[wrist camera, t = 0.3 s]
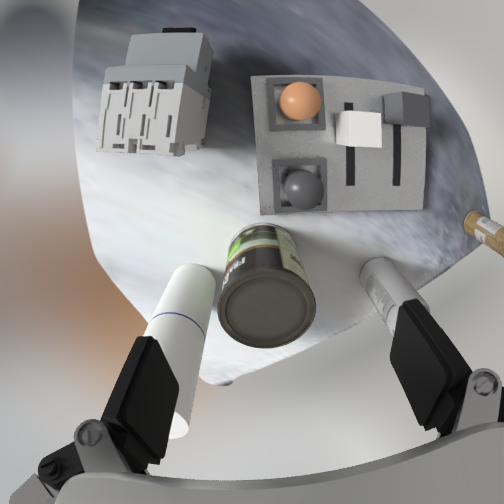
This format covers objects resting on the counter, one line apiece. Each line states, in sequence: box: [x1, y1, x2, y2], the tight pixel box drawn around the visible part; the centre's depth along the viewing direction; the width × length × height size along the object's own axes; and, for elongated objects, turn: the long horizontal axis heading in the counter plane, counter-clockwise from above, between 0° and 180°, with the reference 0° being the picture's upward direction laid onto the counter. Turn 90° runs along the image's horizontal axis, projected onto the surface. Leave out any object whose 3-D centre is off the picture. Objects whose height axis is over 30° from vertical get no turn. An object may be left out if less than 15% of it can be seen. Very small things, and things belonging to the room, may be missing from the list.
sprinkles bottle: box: [464, 211, 504, 257], centre depth 33 cm, size 5×5×13 cm
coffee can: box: [217, 223, 316, 348], centre depth 35 cm, size 10×10×14 cm
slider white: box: [335, 111, 382, 148], centre depth 29 cm, size 4×4×5 cm
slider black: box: [384, 91, 430, 128], centre depth 28 cm, size 4×4×5 cm
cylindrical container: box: [144, 263, 216, 439], centre depth 32 cm, size 7×7×25 cm
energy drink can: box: [360, 257, 430, 337], centre depth 36 cm, size 6×6×15 cm
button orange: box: [279, 82, 321, 121], centre depth 27 cm, size 4×4×3 cm
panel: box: [251, 75, 426, 215], centre depth 33 cm, size 18×24×4 cm
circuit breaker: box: [96, 28, 214, 157], centre depth 26 cm, size 8×14×15 cm, turn 171°
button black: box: [284, 169, 324, 210], centre depth 32 cm, size 4×4×3 cm
